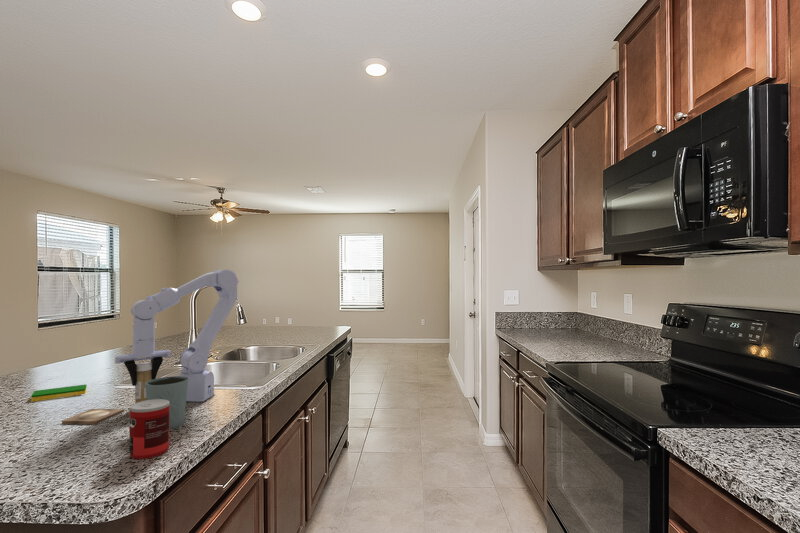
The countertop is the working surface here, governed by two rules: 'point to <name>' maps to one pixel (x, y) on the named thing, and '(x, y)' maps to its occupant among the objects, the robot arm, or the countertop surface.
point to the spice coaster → (93, 416)
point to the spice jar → (142, 380)
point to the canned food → (149, 428)
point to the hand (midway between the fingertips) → (143, 383)
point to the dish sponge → (58, 392)
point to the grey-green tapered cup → (170, 396)
